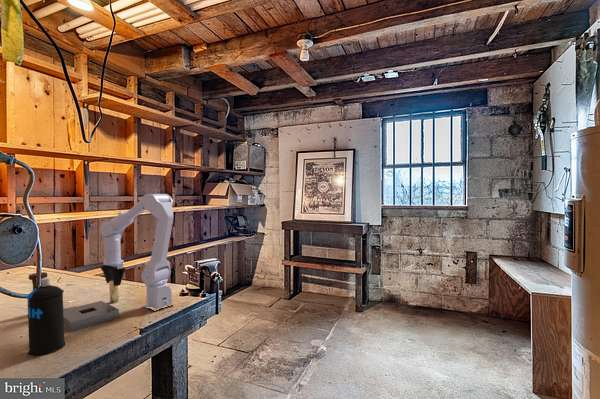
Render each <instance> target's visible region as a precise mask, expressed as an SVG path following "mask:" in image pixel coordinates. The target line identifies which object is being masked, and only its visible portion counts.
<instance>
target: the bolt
mask: <svg viewBox="0 0 600 399" xmlns="http://www.w3.org/2000/svg"><path fill="white" fill-rule="evenodd" d="M37 273H38V272H35V273H30V274H29V275H28V280H29V281H31V284H32V291H33V290H35V288H36V278H37ZM44 278H48V272H46V271H45V272H41V279H44ZM40 287H41V286H40Z"/></svg>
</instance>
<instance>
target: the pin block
mask: <svg viewBox="0 0 600 399" xmlns="http://www.w3.org/2000/svg"><path fill="white" fill-rule="evenodd" d="M119 310H120V309H119V308H117V307H115V306H113V305H111V304H110V303H108V302H105V301H103V300H98V301H96V302H91V303H87V304H83V305H80V306H75V307H72V308H71V307H70V308H68V309H63V317H64V328H66V329H68V330H69V331H70V332H72V333H73V332H77V331H79V330H83V329H86V328H89V327H92V326H95V325H99V324H103V323H105V322H108V321H112V320H116V319H118V318H120V311H119Z"/></svg>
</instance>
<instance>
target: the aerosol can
mask: <svg viewBox="0 0 600 399" xmlns="http://www.w3.org/2000/svg"><path fill="white" fill-rule="evenodd" d="M63 293H64V289H62V288H61V287H59V286H55V285H51V283H50V278H49V277H46V278H44V279H41V287H39V288H37V289H35V290H33V289H32V291H31V292H30V293H29V294H28V295H27V296H26V299H27V320H28V321H27V322H28V323H27V326H28V352H27V355H29V356H30V357H42V356H46V355H49V354H52V353H55V352H57V351H60V350H62V349H63V348H64V347H65V345H66V342H65V326H64V317H63V310H64V294H63Z"/></svg>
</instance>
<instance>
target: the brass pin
mask: <svg viewBox="0 0 600 399" xmlns="http://www.w3.org/2000/svg"><path fill="white" fill-rule="evenodd" d="M108 284H109V286H108V287H109V304H117V303H119V285H118V286H114V283H113V280H110V281H109V283H108Z"/></svg>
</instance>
